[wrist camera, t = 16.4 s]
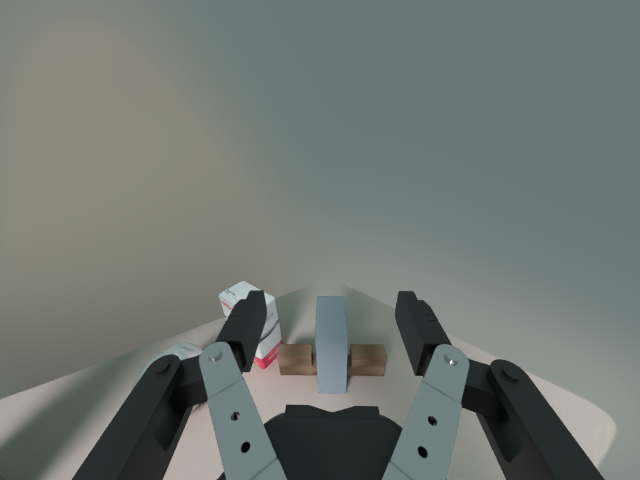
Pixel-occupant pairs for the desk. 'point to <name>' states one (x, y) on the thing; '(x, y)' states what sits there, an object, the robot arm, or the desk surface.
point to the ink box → (271, 328)
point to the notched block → (331, 344)
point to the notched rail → (358, 362)
